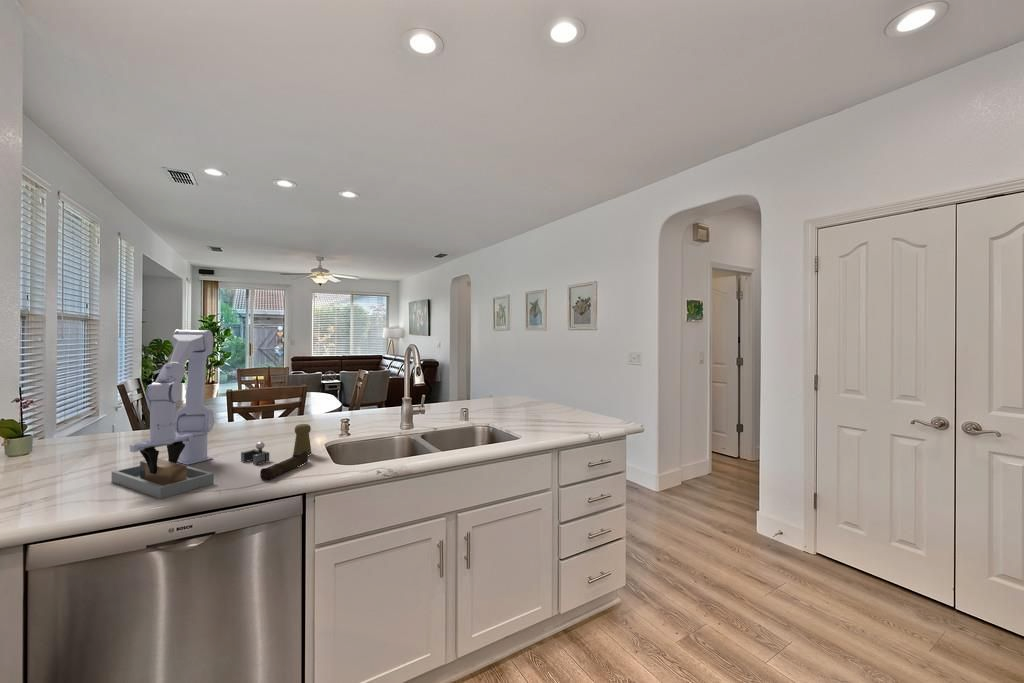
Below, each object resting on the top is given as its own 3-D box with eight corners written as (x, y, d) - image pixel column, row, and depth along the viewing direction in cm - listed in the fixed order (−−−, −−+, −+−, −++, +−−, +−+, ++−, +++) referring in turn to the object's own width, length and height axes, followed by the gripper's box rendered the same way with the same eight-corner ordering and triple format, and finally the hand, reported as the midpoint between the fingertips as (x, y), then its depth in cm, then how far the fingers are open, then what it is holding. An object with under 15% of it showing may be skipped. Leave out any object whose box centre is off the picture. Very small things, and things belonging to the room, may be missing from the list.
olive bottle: (297, 452, 155) (297, 422, 155) (314, 452, 156) (314, 422, 155) (289, 457, 149) (290, 426, 149) (307, 457, 149) (308, 426, 149)
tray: (111, 481, 122) (111, 471, 122) (164, 469, 134) (164, 459, 134) (160, 499, 111) (160, 487, 111) (213, 483, 123) (213, 473, 123)
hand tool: (270, 482, 126) (270, 466, 126) (259, 480, 127) (259, 465, 126) (314, 463, 144) (314, 449, 144) (304, 462, 145) (304, 448, 145)
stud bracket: (241, 461, 144) (241, 442, 143) (256, 457, 148) (256, 439, 148) (256, 464, 140) (256, 446, 140) (271, 460, 145) (271, 442, 145)
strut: (170, 488, 117) (170, 470, 117) (140, 478, 124) (140, 461, 124) (186, 483, 121) (186, 466, 121) (156, 474, 128) (156, 457, 127)
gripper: (139, 430, 114) (139, 481, 114) (198, 421, 127) (198, 466, 127) (125, 427, 117) (125, 476, 117) (185, 418, 130) (185, 462, 130)
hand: (162, 470), depth 122 cm, fingers closed on strut, 4 cm apart
